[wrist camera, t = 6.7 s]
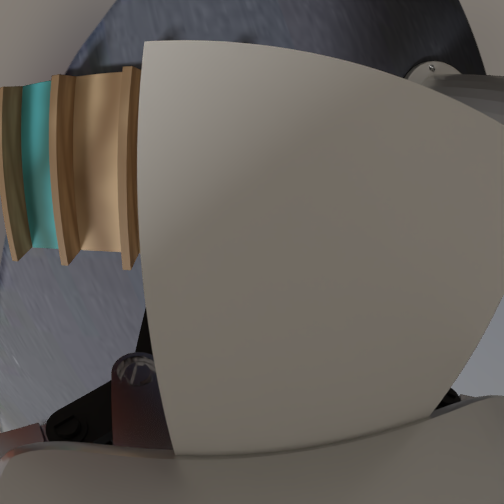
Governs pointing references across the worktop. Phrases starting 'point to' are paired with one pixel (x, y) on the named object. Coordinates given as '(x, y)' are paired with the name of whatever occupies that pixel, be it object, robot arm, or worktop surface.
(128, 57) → the worktop surface
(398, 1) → the worktop surface
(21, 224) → the card rack
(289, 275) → the panel
